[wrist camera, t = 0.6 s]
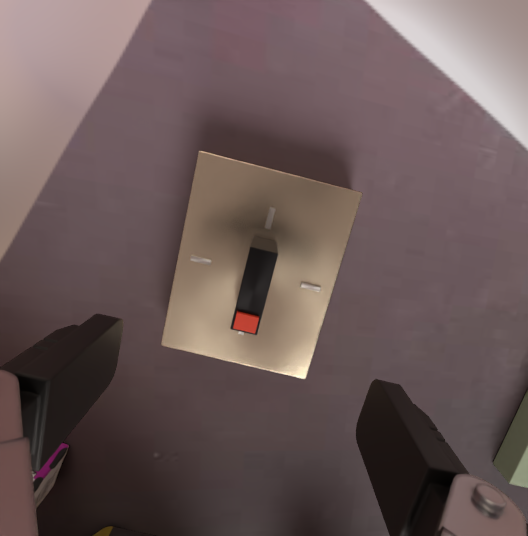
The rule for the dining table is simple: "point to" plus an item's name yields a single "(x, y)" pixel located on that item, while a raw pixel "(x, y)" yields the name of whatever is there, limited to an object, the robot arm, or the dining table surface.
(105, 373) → the robot arm
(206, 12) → the dining table surface
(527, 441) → the switch block
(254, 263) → the red-tipped black block
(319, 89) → the dining table surface
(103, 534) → the flower pot
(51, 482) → the candy bar box
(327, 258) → the lever switch base
